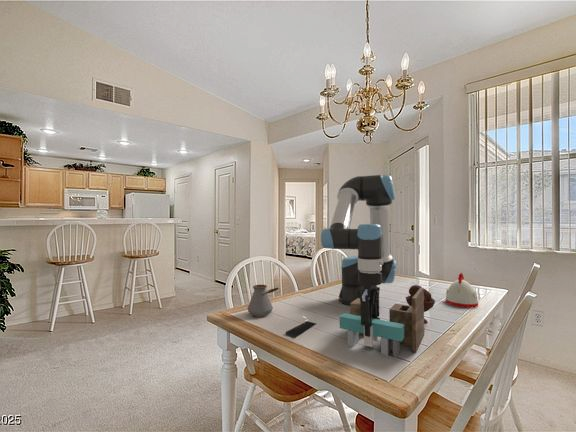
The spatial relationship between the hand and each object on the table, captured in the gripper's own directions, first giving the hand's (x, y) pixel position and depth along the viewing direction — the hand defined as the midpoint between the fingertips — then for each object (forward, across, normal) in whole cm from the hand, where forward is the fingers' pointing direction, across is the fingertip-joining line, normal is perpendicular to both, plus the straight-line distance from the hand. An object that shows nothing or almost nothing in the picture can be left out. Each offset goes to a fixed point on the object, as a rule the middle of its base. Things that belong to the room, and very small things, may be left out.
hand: (370, 342), depth 94 cm
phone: (+3, +3, +27) cm, 27 cm away
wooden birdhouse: (+3, +12, -8) cm, 15 cm away
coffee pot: (+3, +7, +49) cm, 50 cm away
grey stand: (+3, 0, 0) cm, 3 cm away
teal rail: (+2, 0, 0) cm, 2 cm away
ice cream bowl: (+3, +37, -9) cm, 38 cm away
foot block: (+3, +12, +7) cm, 14 cm away
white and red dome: (+3, +75, -22) cm, 78 cm away
